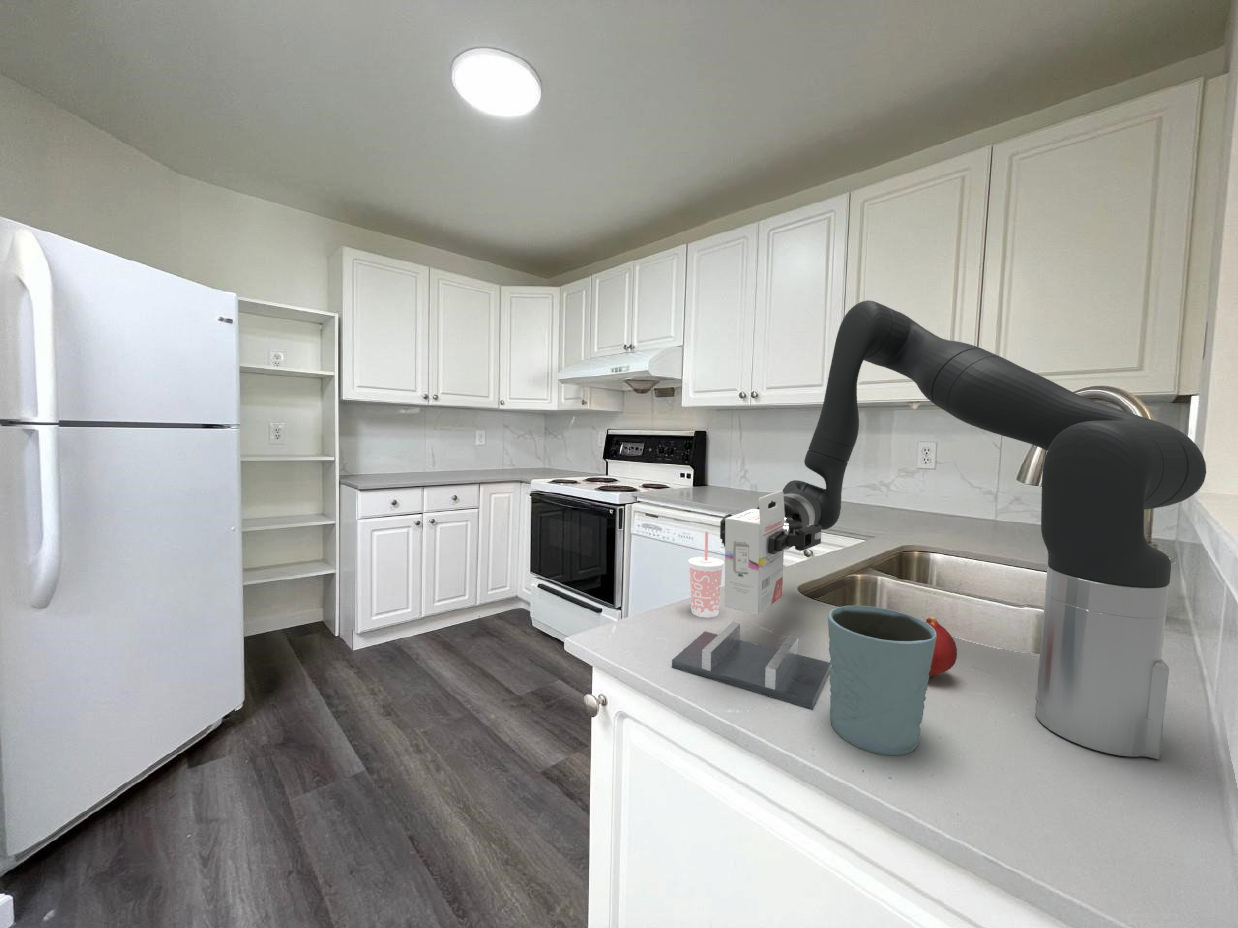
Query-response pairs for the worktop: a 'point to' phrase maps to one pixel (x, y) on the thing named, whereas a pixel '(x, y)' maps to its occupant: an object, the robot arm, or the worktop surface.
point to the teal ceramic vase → (878, 677)
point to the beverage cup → (705, 584)
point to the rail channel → (756, 666)
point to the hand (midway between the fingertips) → (748, 542)
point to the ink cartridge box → (754, 557)
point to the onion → (942, 649)
